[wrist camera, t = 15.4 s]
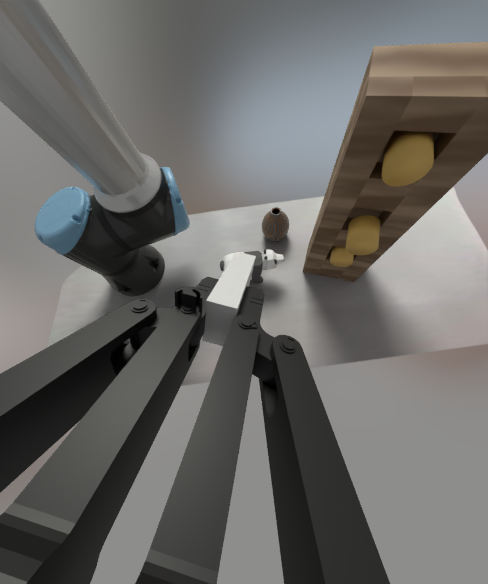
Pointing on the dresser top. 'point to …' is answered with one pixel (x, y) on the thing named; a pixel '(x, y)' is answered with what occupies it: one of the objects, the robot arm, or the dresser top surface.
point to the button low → (341, 257)
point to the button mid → (363, 235)
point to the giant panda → (257, 262)
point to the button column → (403, 117)
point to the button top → (407, 157)
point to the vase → (275, 224)
